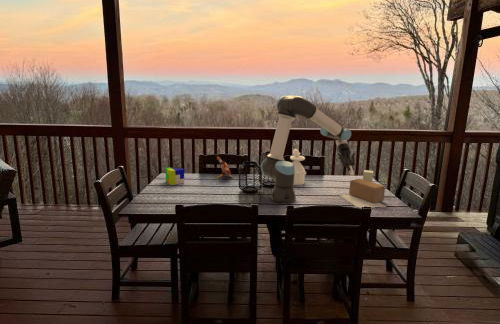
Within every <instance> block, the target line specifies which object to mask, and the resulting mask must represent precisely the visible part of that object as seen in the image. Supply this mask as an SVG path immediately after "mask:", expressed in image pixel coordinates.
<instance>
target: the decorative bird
mask: <svg viewBox="0 0 500 324" xmlns="http://www.w3.org/2000/svg"><path fill="white" fill-rule="evenodd" d="M216 159H217V160H218V162H219V163H220V168H221V171H222V173H221V174H220V175H217V178H221V177H224V176H225V175H228V176H229V178H232V177H233V178H234V176H233V175H232V172H231V170H230V167H229V165H228V164H227V162H226V161H224V160H222V159H221V157H220V156H218V155H216ZM233 178H232V179H233Z"/></svg>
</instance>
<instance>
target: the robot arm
mask: <svg viewBox="0 0 500 324" xmlns="http://www.w3.org/2000/svg"><path fill="white" fill-rule="evenodd" d="M276 109H277V116H278V121H277V125H276V128H275V133H274V136H273V139H272V144H271V148H270V151H269V153H267V155H266V158H265V159H264V160H262V161H261V164H260V170H261V173H262V174H263V175H264V176H266V177H267V178H270V179H272V180H274V188H273V191H272V193H271V198H272V199H273V200H274V201H273V200H272V199H271V200H272V201H273V202H275V201H277V202H276V203H278V202H282V203H281V204H292V203H295V201H297V199H296V197H297V196H296V192H295V189H294V186H295V185H294V173H295V167H294V164H292V162H291V161H286V160H285V158H284V153H285V149H286V146H287V145H286V144H287V142H288V138H289V134H290V130H291V126H292V122H293V121H294V120H295V119H296V116H300V117H303V118H305V119H307V120H310V121H313V122H314V123H315V124H317V126H320V130H319V131H320V134H321V135H322V136H324V137H328V138H331V139H334V141H335V144H336V147H337V151H338V153H336V154H337V155H336V157H337V158H338V160H340V163H341V164H342V166H343V167H345V168H346V170H347V171H348V172H349V175H350V177H353V176H354V175H355V172H354V170H355V169H354V166H355V165H356V163H355V155H356V153H355V152H352V151H351V150H350V146H349V142H348V140H350V139H351V137H352V131H351V129H350V128H345V127H343V126H342V125H340V124H339V123H337V122H336V121H335V120H334V119H332V118H330V116H328V115H326V114H325V113H324V112H322V111H321V110H319V108H318V107H317V105H315V104H314V103H313V102H311V101H310V100H308V99H307V98H305V97H303V96H301V95H291V94H286V95H282V96H281V97H279V98H278V100H277V101H276ZM291 202H292V203H291Z"/></svg>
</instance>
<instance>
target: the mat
mask: <svg viewBox="0 0 500 324" xmlns="http://www.w3.org/2000/svg"><path fill="white" fill-rule="evenodd" d="M339 197H341V198H342V199H343V200H345V201H347V202H348V203H350V204H351V205H352V206H354V207H355V208H357V207H360V208H361V207H364V206H367V207H371V208H370V209H376V208H375V207H381V208H387V206H386V205H385V204H382V202H376V203H372V202H369V201H366V200H364V199H361V198H358V197H355V196H352V195H350V194H346V195H344V194H342V195H341V194H340V195H339Z"/></svg>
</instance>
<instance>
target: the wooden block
mask: <svg viewBox="0 0 500 324" xmlns="http://www.w3.org/2000/svg"><path fill="white" fill-rule="evenodd" d="M349 181H350V182H349V192H348V195H352V196H355V197H358V198H361V199H364V200H366V201H369V202H372V203H376V202H379V203H381V202H383V201H384V200H385V192H386V191H385V190H386V186H385V185H383V184H379V183H376V182H373V181H372V182H370V181H366V180H363V178H356V179H352V180H351V179H350V180H349Z"/></svg>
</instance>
